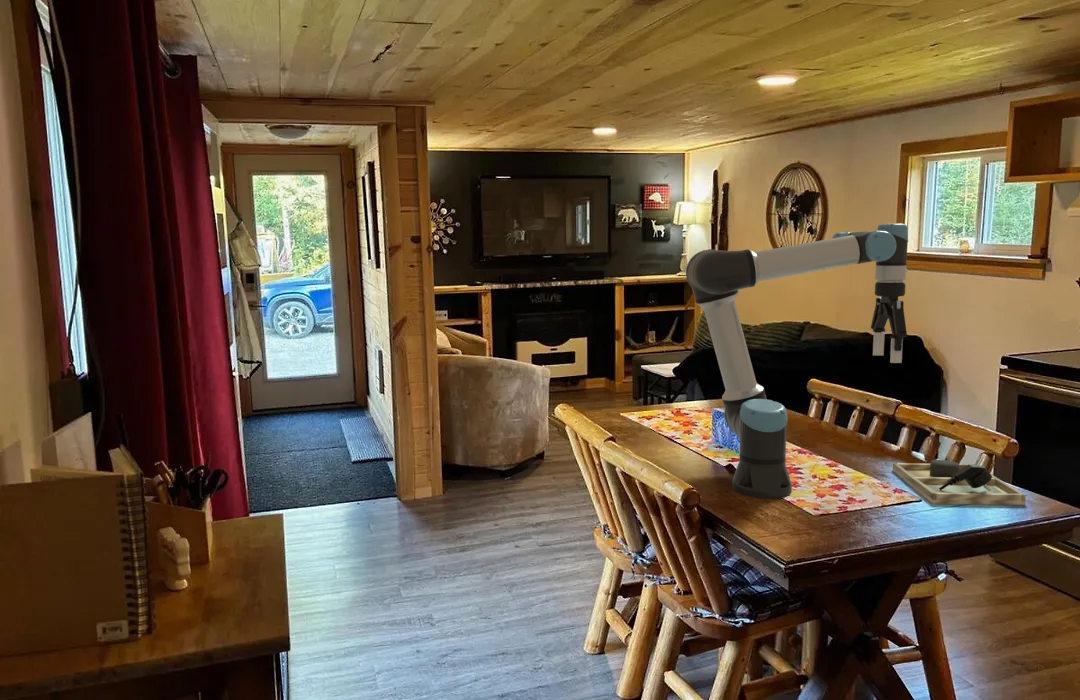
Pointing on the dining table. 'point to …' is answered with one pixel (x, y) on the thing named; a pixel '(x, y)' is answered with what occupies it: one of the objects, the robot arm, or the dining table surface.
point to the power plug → (971, 477)
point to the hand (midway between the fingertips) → (886, 359)
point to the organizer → (956, 487)
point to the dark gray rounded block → (943, 468)
